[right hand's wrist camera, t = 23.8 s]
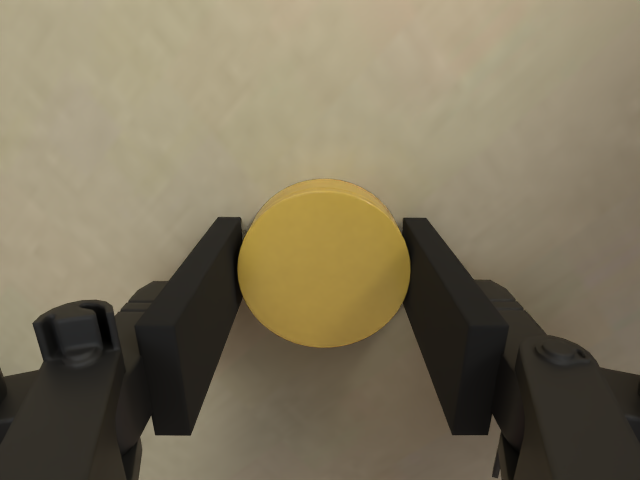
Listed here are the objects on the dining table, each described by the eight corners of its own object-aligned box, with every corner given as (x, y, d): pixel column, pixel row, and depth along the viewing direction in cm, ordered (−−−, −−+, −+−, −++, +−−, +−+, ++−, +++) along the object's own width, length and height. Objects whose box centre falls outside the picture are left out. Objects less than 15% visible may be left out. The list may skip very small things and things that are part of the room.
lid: (218, 272, 14) (205, 295, 13) (301, 145, 13) (298, 154, 11) (342, 344, 15) (344, 374, 14) (434, 235, 14) (447, 255, 12)
